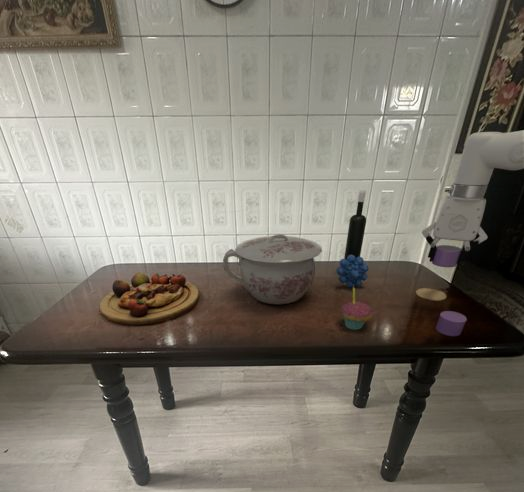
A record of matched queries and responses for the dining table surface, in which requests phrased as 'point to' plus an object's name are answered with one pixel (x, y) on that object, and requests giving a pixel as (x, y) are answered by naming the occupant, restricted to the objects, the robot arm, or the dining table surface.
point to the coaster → (431, 294)
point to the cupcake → (356, 313)
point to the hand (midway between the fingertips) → (444, 261)
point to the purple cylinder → (446, 256)
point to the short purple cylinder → (451, 323)
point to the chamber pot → (275, 267)
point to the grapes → (352, 271)
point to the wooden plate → (148, 299)
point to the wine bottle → (356, 229)
